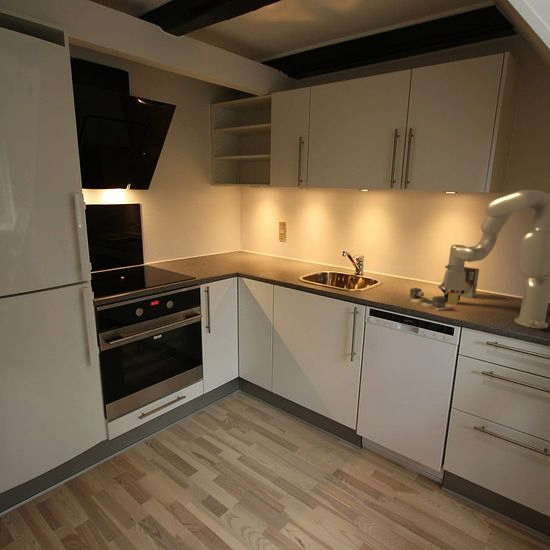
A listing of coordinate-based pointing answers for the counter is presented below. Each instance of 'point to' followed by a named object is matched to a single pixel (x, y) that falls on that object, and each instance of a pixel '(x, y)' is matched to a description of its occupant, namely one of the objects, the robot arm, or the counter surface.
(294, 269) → the counter surface
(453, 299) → the coupling block
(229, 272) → the counter surface
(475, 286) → the coffee box
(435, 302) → the shaft bench
